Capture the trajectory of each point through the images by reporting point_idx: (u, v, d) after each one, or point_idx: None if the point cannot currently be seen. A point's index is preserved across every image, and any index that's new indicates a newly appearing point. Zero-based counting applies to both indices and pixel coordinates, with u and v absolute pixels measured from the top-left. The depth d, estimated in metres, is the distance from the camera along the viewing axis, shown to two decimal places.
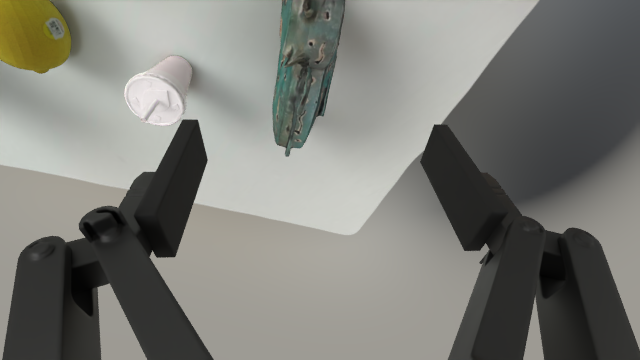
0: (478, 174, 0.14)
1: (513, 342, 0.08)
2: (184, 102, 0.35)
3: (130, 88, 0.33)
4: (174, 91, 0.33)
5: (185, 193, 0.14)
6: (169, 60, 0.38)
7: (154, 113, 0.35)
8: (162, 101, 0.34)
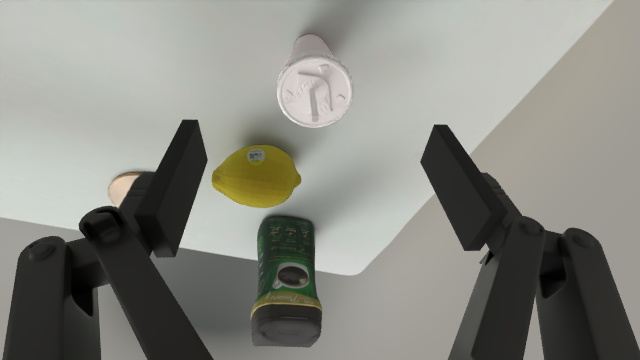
0: (478, 174, 0.14)
1: (513, 342, 0.08)
2: (320, 54, 0.23)
3: (295, 116, 0.26)
4: (298, 63, 0.22)
5: (185, 193, 0.14)
6: None
7: (331, 100, 0.25)
8: (313, 84, 0.24)
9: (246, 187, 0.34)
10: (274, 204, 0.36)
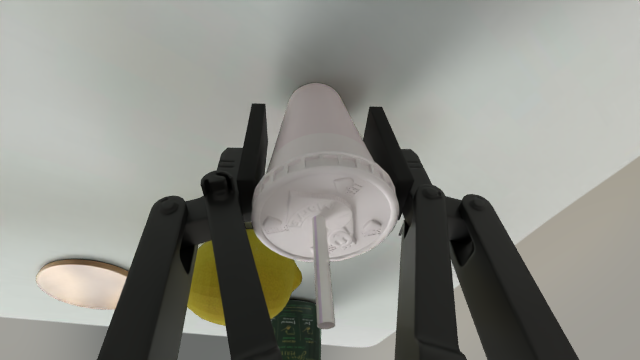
0: (397, 149, 0.15)
1: (445, 308, 0.09)
2: (337, 156, 0.11)
3: (288, 250, 0.14)
4: (291, 178, 0.11)
5: (262, 167, 0.15)
6: None
7: (356, 229, 0.13)
8: (321, 210, 0.12)
9: (218, 309, 0.22)
10: None
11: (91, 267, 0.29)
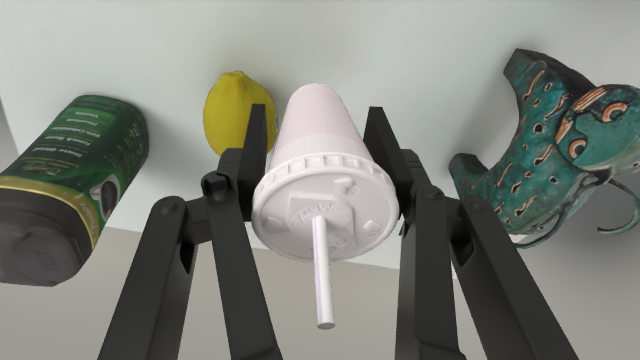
0: (397, 149, 0.15)
1: (445, 308, 0.09)
2: (337, 156, 0.11)
3: (288, 250, 0.14)
4: (291, 178, 0.11)
5: (262, 167, 0.15)
6: None
7: (356, 229, 0.13)
8: (321, 211, 0.12)
9: None
10: None
11: None
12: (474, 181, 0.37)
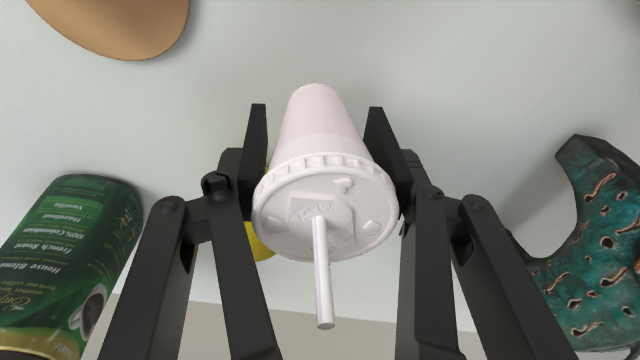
0: (396, 149, 0.15)
1: (445, 308, 0.09)
2: (337, 156, 0.11)
3: (288, 250, 0.14)
4: (291, 178, 0.11)
5: (262, 167, 0.15)
6: None
7: (356, 229, 0.13)
8: (321, 211, 0.12)
9: None
10: None
11: (182, 13, 0.19)
12: None
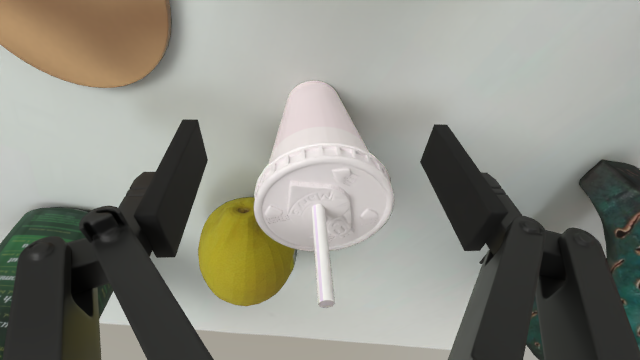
0: (478, 174, 0.14)
1: (513, 342, 0.08)
2: (335, 147, 0.12)
3: (288, 239, 0.15)
4: (292, 168, 0.11)
5: (185, 193, 0.14)
6: None
7: (354, 218, 0.14)
8: (320, 199, 0.12)
9: (263, 281, 0.21)
10: (226, 301, 0.23)
11: (161, 34, 0.16)
12: (533, 307, 0.30)
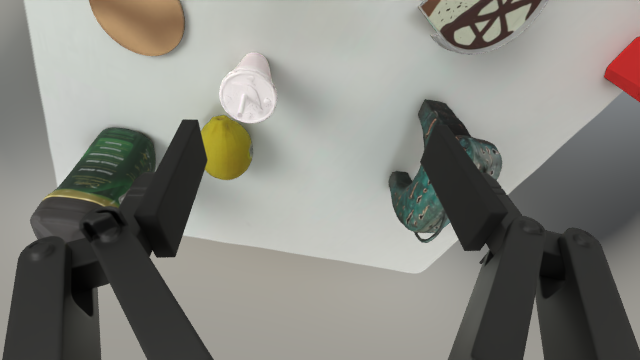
0: (478, 174, 0.14)
1: (513, 342, 0.08)
2: (248, 69, 0.32)
3: (235, 115, 0.34)
4: (231, 76, 0.31)
5: (185, 193, 0.14)
6: None
7: (261, 102, 0.33)
8: (244, 91, 0.32)
9: (231, 157, 0.41)
10: (212, 173, 0.43)
11: (180, 30, 0.36)
12: (400, 193, 0.50)
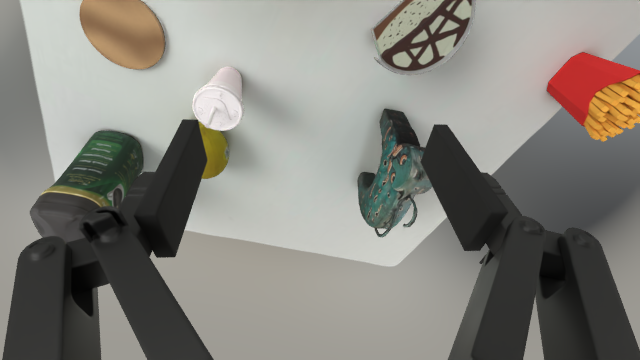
0: (478, 174, 0.14)
1: (513, 342, 0.08)
2: (216, 85, 0.37)
3: None
4: (202, 91, 0.36)
5: (185, 193, 0.14)
6: None
7: (229, 113, 0.39)
8: (213, 104, 0.37)
9: None
10: None
11: (161, 47, 0.41)
12: (364, 193, 0.55)
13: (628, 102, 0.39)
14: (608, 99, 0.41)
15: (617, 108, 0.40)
